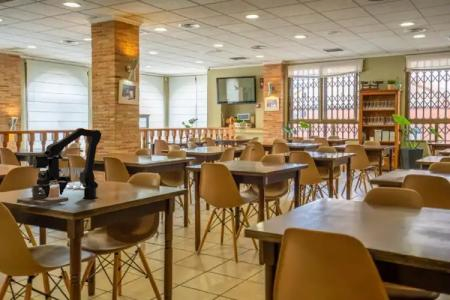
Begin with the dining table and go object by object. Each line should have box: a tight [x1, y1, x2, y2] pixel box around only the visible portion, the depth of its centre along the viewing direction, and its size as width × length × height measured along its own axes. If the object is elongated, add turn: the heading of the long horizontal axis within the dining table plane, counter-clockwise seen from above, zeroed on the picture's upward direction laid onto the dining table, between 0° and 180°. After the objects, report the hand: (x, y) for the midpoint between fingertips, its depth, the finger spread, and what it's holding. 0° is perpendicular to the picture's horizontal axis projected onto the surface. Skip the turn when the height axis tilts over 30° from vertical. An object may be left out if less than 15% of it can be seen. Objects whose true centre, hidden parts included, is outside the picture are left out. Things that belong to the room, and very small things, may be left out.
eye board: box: [16, 184, 69, 206], centre depth 266 cm, size 20×18×9 cm
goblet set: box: [56, 166, 86, 188], centre depth 324 cm, size 28×6×13 cm, turn 69°
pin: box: [30, 186, 60, 198], centre depth 265 cm, size 18×4×5 cm, turn 61°
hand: (54, 196), depth 262 cm, fingers open, 9 cm apart
